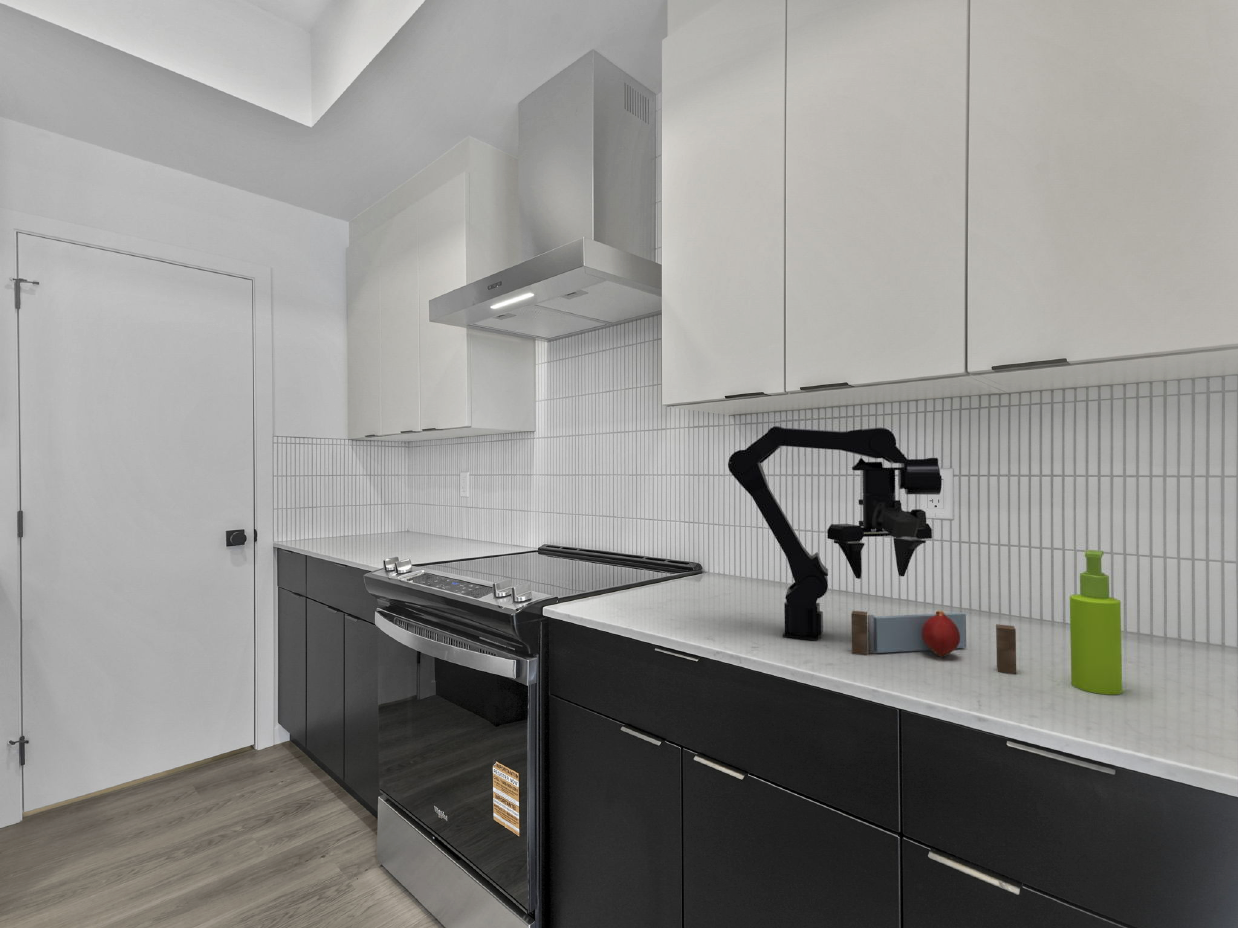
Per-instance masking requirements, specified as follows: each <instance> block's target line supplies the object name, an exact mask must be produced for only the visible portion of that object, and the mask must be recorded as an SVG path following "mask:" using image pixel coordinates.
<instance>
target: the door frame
mask: <svg viewBox="0 0 1238 928" xmlns="http://www.w3.org/2000/svg"><path fill="white" fill-rule="evenodd" d="M850 615H851V616H850V617H851V623H850V624H851V654H855V655H864V656H867V655H868V653H869V652H868V611H861V610H860V611H859V610H852V611H851V613H850ZM995 630H996V631H995V633H996V634H995V637H996V640H995V642H996V648H995V649H996V669H997V672H998V673H1005V674H1012V675H1016V674H1017V637H1016V636H1017V634H1016V633H1017V632H1016V628H1015V626H1014V625H1008V624H997V623H996V624H995Z"/></svg>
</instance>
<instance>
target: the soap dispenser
mask: <svg viewBox="0 0 1238 928" xmlns="http://www.w3.org/2000/svg"><path fill="white" fill-rule="evenodd" d="M1104 555H1105V554H1104V551H1103V550H1094V549H1093V550H1092V549H1087V550H1085V552H1084V557H1085V558H1086V571H1083V572H1081V573H1079V594H1078V593H1077V594H1071V595H1069V626H1070V627H1069V628H1070V632H1069V633H1070V636H1069V637H1070V680H1071V681H1070V684H1071V685H1072V686H1073V687H1075V688H1077V689H1078V690H1081V691H1084V692H1089V693H1093V694H1099V695H1108V696H1110V695H1113V696H1115V695H1120V694H1122V693H1123V671H1122V670H1123V669H1122V668H1123V664H1122V663H1123V662H1122V615H1121V614H1122V613H1121V610H1122V609H1121V603H1122V602H1121V600H1119V599H1117V598H1114V597H1111V596H1110V576H1109V575H1107V574H1105V572H1102V558H1103V556H1104Z"/></svg>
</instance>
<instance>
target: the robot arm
mask: <svg viewBox="0 0 1238 928" xmlns="http://www.w3.org/2000/svg"><path fill="white" fill-rule="evenodd" d="M781 447H789V448H801V449H802V448H803V449H816V450H820V449H821V450H832V451H842V452H845V453H850V454H853V455H854V454H855V455H857V456H860V457H861V456H862V457H866V458H871V459H873V460H874V459H877V460H878V459H883V460H884V461H886V462H887V463H889V464H900V467H899V466H897V467H891V466H890V467H884V466H883V462H882V461H865V460H864V459H863V458H862V457H861V458H859V459H858V461H857V462H856V463H855V464H854V465H853V466H852V467H851V470H852V471H862V475H861V476H862V477H861V478H862V482H861V483H862V499H861V498H860V499H858V505H860V506H862V520H858V524H850V523H830V525H829V527H828V528H827V531H826V532H827V535H826V537H827V539H828V540H833V543H834V544H836V545H838V547H839V548H840V550H841V551H842V553H843V554H844V557H845V558H846V560H847V562H848V564H849V566H850V568H851V571H852V573H853V574H854V577H855V578H856V579H858V580H861V579H862V550H863V548H864V547H865V543H864V542H861V541H863V539H864V538H865V537H866V538H868V537H871V538H872V537H874V538H875V537H893V539H892V540H893V545H894V554H895V556H894V557H895V562H896V568H897V569H896V570H897V573H898V576H899V577H905V574H906V572H907V569H908V567H909V564H910V562H911V559H912V557H913V556H914V555H913V554H914V553H915V550H916V549H917V548H918V547H920V546H921V545H922V544H926V542H927V539H928V540H930V539H933V529H932V527H931V526H930V524H929V523H927V513H926V511H925V510H923V509H920V508H918V509H914V508H913V509H911V510H907V511H905V510H903V509H902V502H901V500H899V499H896V497H897V496H896V495H897V494H896V471H898V473H897V479H898V490H904V495H916V496H917V495H922V496H924V495H926V496H927V495H929V496H930V495H936V496H937V495H938V496H939V495H941V492H942V483H943V482H942V481H943V480H942V478H943V477H942V475H941V470H940V465H939V458H938V457H926V458H915V459H914V458H911V459H910V458H909V459H908V457H906V456H905V455H906V454H905V453H903V452H902V451H901V450H900V449H899V447H898V446H897V439H896V437H895V435H894V433H893V432H892V431H891V430H890V429H888V428H885V427H868V428H860V429H854V430H853V429H852V430H846V431H845V430H843V431H842V430H827V429H811V428H810V429H808V428H807V429H806V428H795V427H792V428H791V427H782V426H780V425H775V426H774V425H773V426H772V427H770V428H769V429H768V431H767V432H766V433H765V434H763V435H762V436H761V437H760V438H758V439H757V440H755V441H754V442H753V443H751V444H750V445H748V446H747V448H745V449H739V450H736V451H734V452H733V453H732V454H731V455H730V456H729V458H728V463H727V466H728V467H727V468H728V471H729V472H730V474H731V475H732V476H733V478H734V479H735V480H736V481H737V482H738V483H739V485H740V486H741V487H742V488H743V490H745V491H746V492H747V493H748V494H749V495H750V496H751V498H752V500H753V501H754V503H755V504H756V506H757V509H758V510H759V511H760V514H761V515H762V517H763V518H764V521H765V522H766V524H767V526H768V527H769V530H770V531H771V532H772V535H773V536H774V537H775V540H776V541H777V543H778V544H779V546H780V548H781V550H782V551H783V553H784V555H785V557H786V559H787V562H788V566H789V569H790V572H791V574H792V575H791V576H792V578H793V581H794V582H792V584H791V585H790V586H789V587H788V588H787V591H786V594H785V602H784V605H783V607H784V610H783V611H784V613H783V615H784V631H783V633H782V637H784V638H790V639H791V638H794V639H801V640H810V641H817V640H819V639H820V636H822V634H823V633H824V612H823V611H822V610H821V604H820V602H817V601H818V600H819V599H821V598H822V597H824V596H825V595H826V593H827V591H828V588H829V579H828V578H829V577H828V576H829V569H828V568H827V567H826V566H825V565H824V564H823V562H822V560H821V558H820V555H819V552H818V551H817V552H815V553H814V554H811V553H810V552H809V551H808V550H807V549H806V548H805V547H804V545H803V544H802V541H801V540H800V538H799V537H798V535H797V533H796V532H795V530H794V528H793V526H792V524H791V523H790V521H789V520H788V518H787V516H786V515H785V513H784V511H783V509H782V508H781V506H780V504H779V502H778V500H777V498H776V497H775V495H774V494H773V491H772V490H771V489H770V486H769V483H768V480H767V476H766V474H765V471H764V469H763V465H762V464H763V463H764V462H765V461H767V460H768V458H770V457H771V456H772V455H773V454H774V453H775V452H776V451H778V450H779V449H780V448H781Z"/></svg>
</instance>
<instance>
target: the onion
mask: <svg viewBox="0 0 1238 928" xmlns="http://www.w3.org/2000/svg"><path fill="white" fill-rule="evenodd" d="M944 613H945V612H944V611H943V610H939V609H938V610H937V611H936V612H935V614H936V615H935V616H933V617H931V618H929V619H928V620H927V621H926V623H925V624H924V626H923V629H922V637H923V640H924V642H925V644H926V645H927V646H928V647H929V648H930V649H931V651H933V652H934V653H935V655H936V656H938V657H941V658H943V657H946V656H947V655H949V654H950V653H952V652H954V651H955V650H956V649H958V648H957V646H958V645H959V643H960V633H959V630H958V628H957V626H956V625H955V624H954V622H953V621H952V620H951V619H950V618H948V617H947V616H946V615H945V614H944Z"/></svg>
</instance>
